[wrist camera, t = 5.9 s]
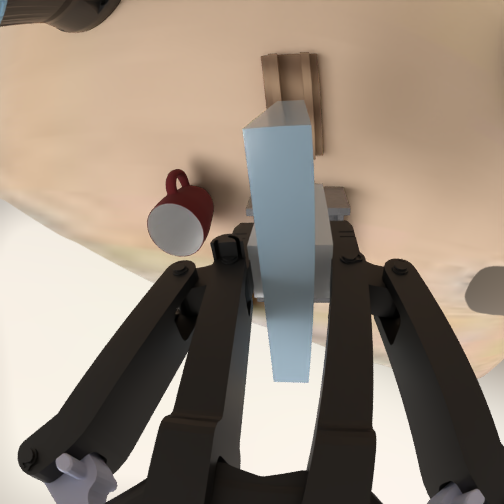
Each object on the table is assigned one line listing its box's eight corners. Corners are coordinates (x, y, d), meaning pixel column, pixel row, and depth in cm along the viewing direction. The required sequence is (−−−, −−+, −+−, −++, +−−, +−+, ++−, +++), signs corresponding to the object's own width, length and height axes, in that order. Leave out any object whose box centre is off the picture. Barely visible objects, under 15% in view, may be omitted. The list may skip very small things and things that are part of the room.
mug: (160, 170, 41) (128, 196, 33) (204, 152, 39) (178, 175, 30) (187, 226, 46) (164, 261, 38) (231, 213, 44) (214, 250, 36)
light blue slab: (277, 101, 17) (242, 129, 7) (303, 100, 16) (311, 124, 7) (288, 251, 23) (273, 381, 14) (310, 251, 23) (308, 382, 13)
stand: (261, 56, 30) (258, 54, 27) (316, 54, 28) (317, 52, 26) (271, 154, 37) (269, 160, 35) (322, 153, 36) (324, 159, 34)
